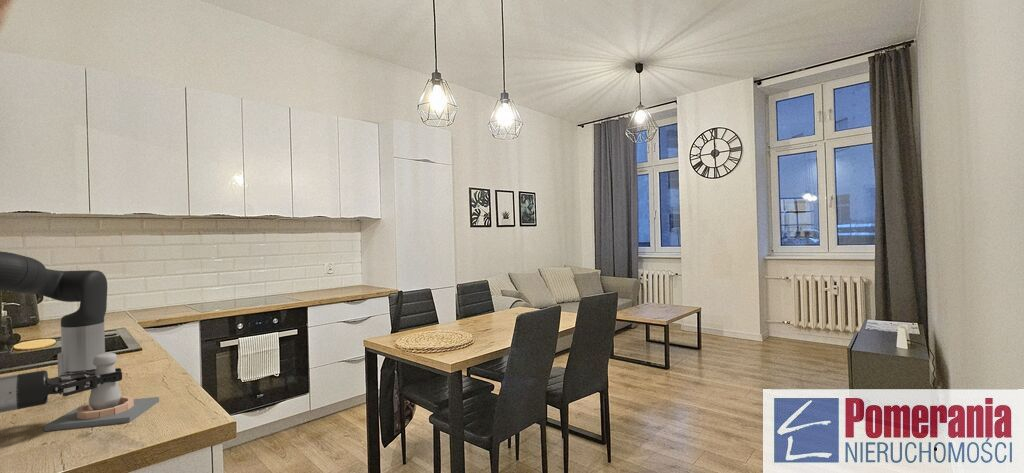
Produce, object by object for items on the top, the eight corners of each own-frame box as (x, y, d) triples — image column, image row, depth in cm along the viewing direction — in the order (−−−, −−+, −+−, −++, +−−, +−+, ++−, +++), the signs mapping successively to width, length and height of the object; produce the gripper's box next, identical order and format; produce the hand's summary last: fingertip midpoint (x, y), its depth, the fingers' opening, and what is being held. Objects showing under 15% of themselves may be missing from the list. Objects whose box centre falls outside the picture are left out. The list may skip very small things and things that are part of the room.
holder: (44, 431, 97) (44, 419, 97) (84, 408, 110) (84, 397, 110) (129, 422, 101) (129, 410, 101) (159, 401, 114) (158, 391, 114)
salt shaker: (101, 413, 102) (100, 358, 102) (82, 411, 103) (81, 356, 103) (127, 404, 108) (127, 351, 108) (109, 402, 109) (109, 350, 109)
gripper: (12, 382, 90) (123, 364, 103) (18, 368, 100) (119, 353, 113) (12, 418, 90) (123, 396, 103) (19, 400, 100) (119, 382, 113)
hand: (121, 373), depth 108 cm, fingers closed on salt shaker, 3 cm apart
